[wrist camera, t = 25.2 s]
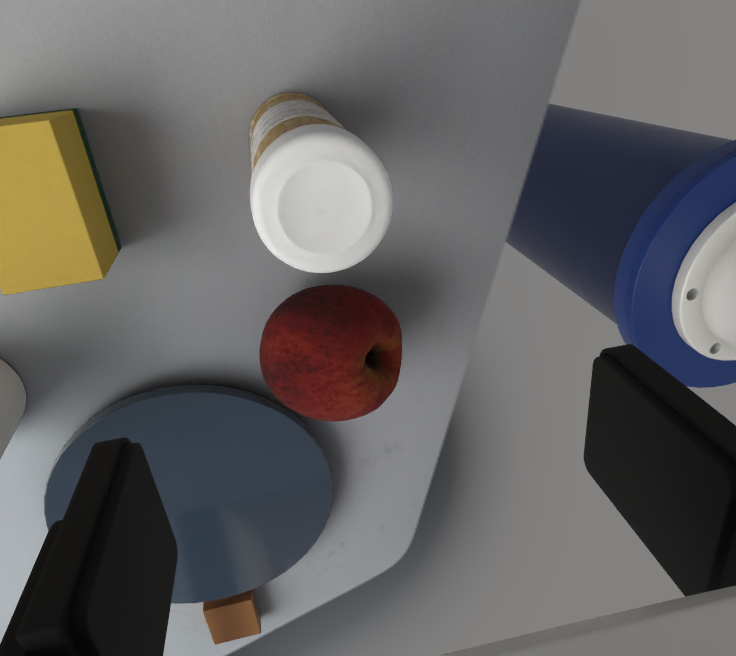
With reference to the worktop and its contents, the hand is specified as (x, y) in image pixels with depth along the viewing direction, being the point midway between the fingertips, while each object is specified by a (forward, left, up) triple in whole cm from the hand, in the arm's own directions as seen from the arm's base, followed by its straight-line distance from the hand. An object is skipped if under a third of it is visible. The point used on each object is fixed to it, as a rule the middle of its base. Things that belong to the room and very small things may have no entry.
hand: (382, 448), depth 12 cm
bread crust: (+9, +31, -22) cm, 39 cm away
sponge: (+11, -2, -22) cm, 25 cm away
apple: (-1, +8, -22) cm, 23 cm away
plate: (+9, +19, -22) cm, 30 cm away
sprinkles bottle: (-1, -3, -22) cm, 22 cm away
